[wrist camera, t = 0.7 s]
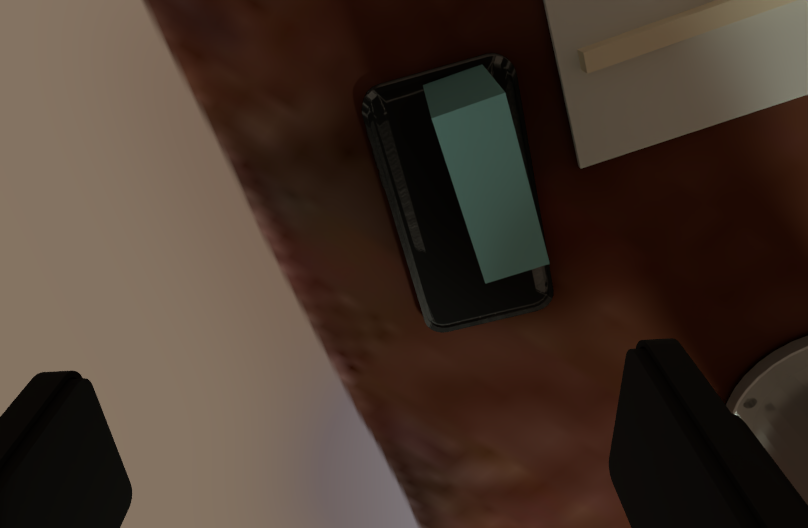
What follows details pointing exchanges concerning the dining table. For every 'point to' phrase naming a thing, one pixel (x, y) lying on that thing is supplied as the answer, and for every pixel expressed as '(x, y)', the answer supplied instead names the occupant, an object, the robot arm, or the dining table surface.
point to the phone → (445, 203)
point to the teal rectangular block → (487, 171)
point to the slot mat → (672, 66)
